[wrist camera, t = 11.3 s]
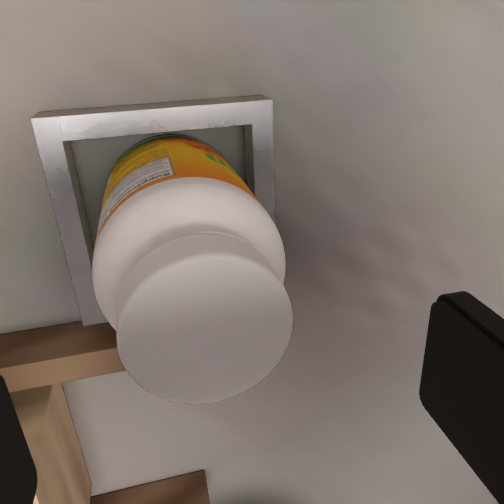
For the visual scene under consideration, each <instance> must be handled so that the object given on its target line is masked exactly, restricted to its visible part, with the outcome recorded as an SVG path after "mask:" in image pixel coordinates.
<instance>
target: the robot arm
mask: <svg viewBox="0 0 504 504" xmlns="http://www.w3.org/2000/svg"><path fill="white" fill-rule="evenodd" d="M419 395H420V399H421V402H422V405H423V406H424V408H425V409H426V410H427V412H428V413H429V414H430V416H431V417H432V418H433V419H434V421H435V422H436V423H437V425H438V426H439V427H440V428H441V430H442V431H443V432H444V434H445V435H446V436H447V437H448V439H449V440H450V441H451V443H452V444H453V445H454V446H455V448H456V449H457V450H458V452H459V453H460V454H461V455H462V457H463V458H464V459H465V460H466V462H467V463H468V464H469V466H470V467H471V468H472V469H473V471H474V472H475V473H476V475H477V476H478V477H479V478H480V480H481V481H482V482H483V484H484V485H485V486H486V487H487V489H488V490H489V491H490V493H491V494H492V495H493V496H494V498H495V499H496V500H497V502H498V503H499V504H504V319H503V318H502V317H500V316H499V315H498V314H496V313H495V312H494V311H492V310H491V309H490V308H488V307H487V306H486V305H484V304H483V303H482V302H480V301H479V300H478V299H476V298H475V297H474V296H472V295H471V294H470V293H468V292H465V291H462V292H455V293H449V294H443V295H441V296H439V297H438V299H437V301H436V302H435V303H433V304H432V306H431V311H430V318H429V326H428V333H427V340H426V347H425V354H424V361H423V368H422V376H421V383H420V390H419ZM37 481H38V480H37V470H36V467H35V464H34V461H33V458H32V456H31V453H30V450H29V447H28V444H27V442H26V439H25V436H24V433H23V430H22V428H21V425H20V422H19V419H18V416H17V414H16V411H15V408H14V405H13V402H12V399H11V397H10V394H9V391H8V388H7V385H6V383H5V380H4V378H3V377H2V375H0V504H33V502H34V498H35V494H36V489H37Z"/></svg>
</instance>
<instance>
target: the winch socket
mask: <svg viewBox="0 0 504 504" xmlns="http://www.w3.org/2000/svg"><path fill="white" fill-rule="evenodd" d="M31 122H32V126H33V130H34V134H35V138H36V142H37V146H38V150H39V153H40V157H41V161H42V165H43V169H44V173H45V177H46V181H47V185H48V189H49V193H50V197H51V201H52V205H53V209H54V212H55V216H56V220H57V224H58V228H59V232H60V236H61V240H62V244H63V248H64V252H65V256H66V260H67V264H68V268H69V272H70V275H71V279H72V283H73V287H74V291H75V295H76V299H77V303H78V307H79V311H80V315H81V319H82V323H83V326H87V325H93V324H99V323H105V322H108V320H107V319H106V317H105V316H104V314H103V312H102V311H101V309H100V307H99V304H98V302H97V299H96V296H95V292H94V287H93V279H92V262H93V253H94V250H93V245H92V241H91V236H90V232H89V227H88V222H87V218H86V213H85V209H84V204H83V200H82V195H81V191H80V186H79V182H78V177H77V173H76V168H75V164H74V159H73V155H72V150H71V146H70V140H81V139H92V138H103V137H115V136H126V135H137V134H148V133H159V132H170V131H182V130H193V129H204V128H215V127H226V126H237V125H243V126H244V146H245V166H246V185H247V187H248V188H249V189H250V191H251V192H252V193H253V194H254V196H255V197H256V198H257V200H258V201H259V202H260V203H261V205H262V206H263V207H264V209H265V210H266V211H267V212H268V214H269V215H270V217H271V219H272V221H273V222H274V224H275V184H274V137H273V100H272V99H270V98H268V97H265V96H263V95H255V96H242V97H229V98H216V99H203V100H190V101H177V102H164V103H151V104H138V105H125V106H111V107H98V108H85V109H72V110H59V111H46V112H38V113H37V114H36V115H35V116H33V117H32V118H31Z"/></svg>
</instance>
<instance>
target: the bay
mask: <svg viewBox="0 0 504 504" xmlns="http://www.w3.org/2000/svg"><path fill="white" fill-rule="evenodd" d="M125 370H126V369H125V367H124V365H123V363H122V361H121V359H120V356H119V352H118V348H117V339H116V330H115V329H114V328H113V327H112V326H111V324H110V323H109V322H105V323H99V324H93V325H87V326H83V323H82V321H80V322H74V323H68V324H62V325H56V326H50V327H44V328H38V329H32V330H26V331H20V332H14V333H8V334H2V335H0V375H2V377H3V378H4V380H5V383H6V385H7V388H8V391H9V394H10V397H11V399H12V402H13V405H14V408H15V411H16V414H17V416H18V419H19V422H20V425H21V428H22V430H23V433H24V436H25V439H26V442H27V444H28V447H29V450H30V453H31V456H32V458H33V461H34V464H35V467H36V470H37V480H38V481H37V489H36V494H35V498H34V502H33V504H210V501H209V495H208V489H207V483H206V477H205V472H204V470H202V471H198V472H194V473H190V474H186V475H182V476H177V477H173V478H169V479H165V480H161V481H157V482H152V483H148V484H144V485H140V486H136V487H132V488H128V489H123V490H119V491H115V492H111V493H107V494H103V495H99V496H94V497H90V495H91V481H90V478H89V474H88V471H87V468H86V464H85V461H84V458H83V454H82V451H81V448H80V444H79V441H78V438H77V435H76V431H75V428H74V425H73V421H72V418H71V415H70V411H69V408H68V405H67V401H66V398H65V395H64V391H63V388H62V385H61V383H62V382H67V381H72V380H78V379H83V378H88V377H93V376H99V375H104V374H109V373H114V372H120V371H125Z"/></svg>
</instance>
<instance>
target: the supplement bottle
mask: <svg viewBox="0 0 504 504" xmlns="http://www.w3.org/2000/svg"><path fill="white" fill-rule="evenodd" d="M284 278H285V252H284V246H283V243H282V240H281V237H280V234H279V232H278V230H277V228H276V226H275V224H274V222H273V221H272V219H271V217H270V215H269V214H268V212H267V211H266V210H265V209H264V207H263V206H262V205H261V203H260V202H259V201H258V200H257V198H256V197H255V196H254V194H253V193H252V192H251V191H250V189H249V188H248V187H247V185H246V184H245V183H244V181H243V180H242V179H241V178H240V177H239V176H238V174H237V173H236V172H235V171H234V169H233V168H232V167H231V165H230V164H229V163H228V162H227V160H226V159H225V158H224V157H223V156H222V155H221V154H220V153H219V152H218V151H217V150H215V149H214V148H213V147H211V146H210V145H208V144H207V143H205V142H203V141H201V140H198V139H196V138H193V137H189V136H185V135H174V134H170V135H160V136H156V137H152V138H149V139H147V140H144V141H142V142H140V143H138V144H136V145H135V146H133V147H131V148H130V149H129V150H128V151H126V152H125V153H124V154H123V155H122V156H121V157H120V158H119V160H118V161H117V162H116V164H115V165H114V167H113V169H112V171H111V173H110V175H109V177H108V180H107V183H106V186H105V190H104V195H103V201H102V207H101V213H100V219H99V224H98V231H97V237H96V242H95V247H94V253H93V262H92V279H93V287H94V292H95V296H96V299H97V302H98V304H99V307H100V309H101V311H102V312H103V314H104V316H105V317H106V319H107V320H108V322H109V323H110V324H111V326H112V327H113V328H114V329H115V330H116V339H117V348H118V352H119V356H120V359H121V361H122V363H123V365H124V367H125V369H126V370H127V372H128V373H129V375H130V376H131V377H132V378H133V380H134V381H135V382H136V383H137V384H139V385H140V386H141V387H142V388H143V389H145V390H146V391H148V392H150V393H151V394H153V395H155V396H157V397H160V398H162V399H165V400H169V401H172V402H178V403H186V404H204V403H212V402H216V401H220V400H224V399H228V398H230V397H233V396H235V395H238V394H240V393H242V392H244V391H246V390H248V389H249V388H251V387H253V386H254V385H256V384H257V383H258V382H260V381H261V380H262V379H263V378H264V377H266V376H267V375H268V374H269V373H270V372H271V371H272V370H273V369H274V367H275V366H276V365H277V364H278V362H279V361H280V359H281V357H282V356H283V354H284V352H285V350H286V348H287V346H288V343H289V340H290V337H291V333H292V327H293V313H292V307H291V303H290V299H289V296H288V294H287V292H286V290H285V288H284V286H283V283H284Z"/></svg>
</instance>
